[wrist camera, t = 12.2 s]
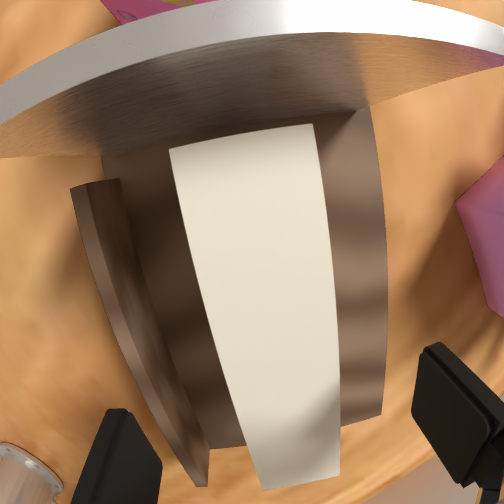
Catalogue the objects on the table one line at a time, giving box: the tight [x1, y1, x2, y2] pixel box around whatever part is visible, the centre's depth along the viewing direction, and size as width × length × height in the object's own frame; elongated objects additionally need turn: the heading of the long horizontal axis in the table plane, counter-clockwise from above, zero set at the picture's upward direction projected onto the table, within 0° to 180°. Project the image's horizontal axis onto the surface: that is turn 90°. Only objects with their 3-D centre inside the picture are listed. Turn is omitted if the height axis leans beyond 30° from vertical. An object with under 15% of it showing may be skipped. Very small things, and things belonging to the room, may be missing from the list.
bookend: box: [0, 0, 504, 158], centre depth 11 cm, size 1×16×14 cm, turn 100°
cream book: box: [169, 124, 340, 490], centre depth 16 cm, size 16×4×11 cm, turn 10°
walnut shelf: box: [70, 106, 388, 487], centre depth 20 cm, size 28×18×6 cm, turn 10°
